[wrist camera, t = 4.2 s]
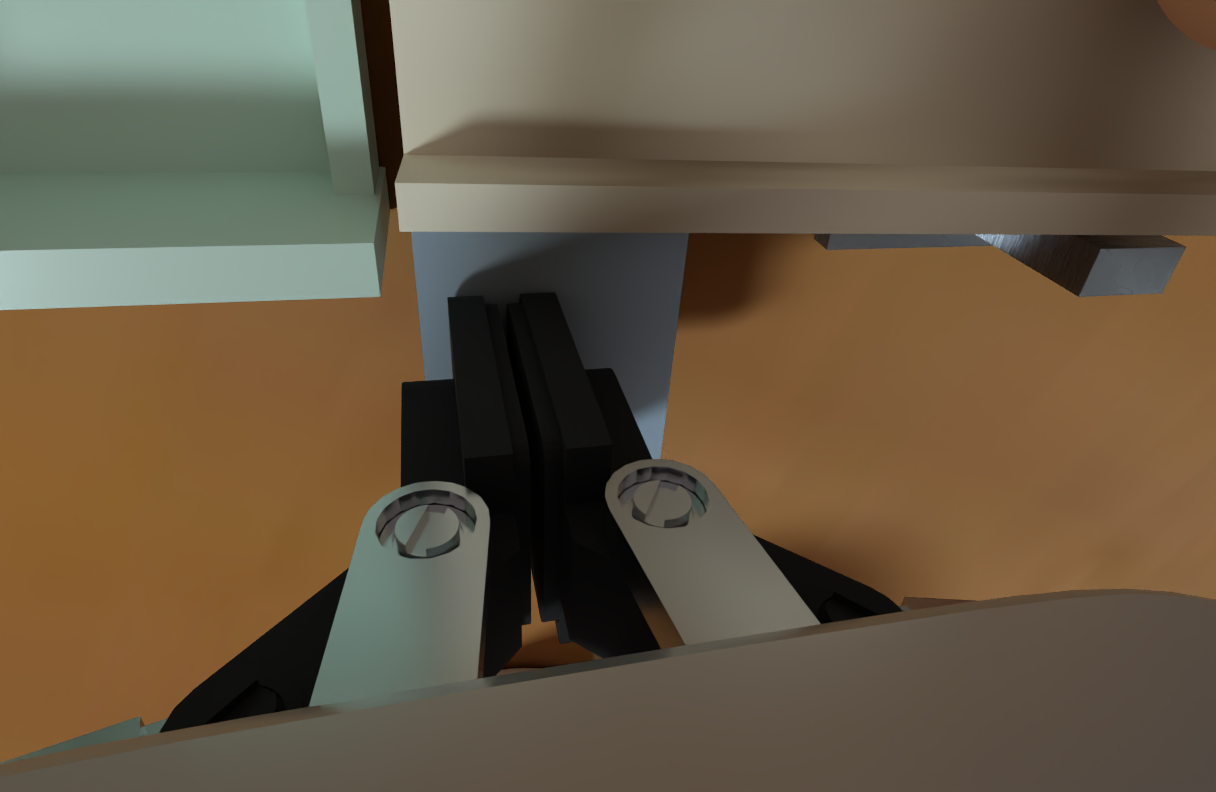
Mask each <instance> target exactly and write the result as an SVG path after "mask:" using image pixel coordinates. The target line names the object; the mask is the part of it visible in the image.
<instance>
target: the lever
mask: <svg viewBox="0 0 1216 792" xmlns="http://www.w3.org/2000/svg"><path fill="white" fill-rule="evenodd" d="M389 4H390V14H391V25H392V35H393V46H394V57H395V67H396V78H397V88H398V99H399V109H400V120H401V130H402V141H403V152H404V155H403V158H402V162H401V165H400V168H399V171H398V174H397V177H396V180H395V191H396V200H397V210H398V220H399V229H400V232H411V236H412V247H413V257H414V268H415V278H416V289H417V299H418V310H419V320H420V331H421V342H422V352H423V363H424V373H425V381H428V380H443V379H453V373H452V359H451V345H450V331H449V317H448V302H447V297H461V296H483V299H484V304H485V305H488V304H497V305H498V309H499V314H500V318H501V322H502V327H503V331H504V336H505V340H506V345H507V304H510V303H519V296H520V294H528V293H549V292H555V293H556V295H557V298H558V301H559V303H560V306H561V308H562V311H563V314H564V316H565V319H566V322H567V324H568V327H569V330H570V332H571V335H572V338H573V340H574V343H575V345H576V348H577V351H578V353H579V356H580V359H581V361H582V364H583V367H584V369H599V368H611V369H612V370H613V371H614V373H615V375H616V377H617V379H618V382H619V384H620V386H621V388H622V391H623V393H624V395H625V397H626V400H627V402H628V404H629V407H630V409H631V411H632V413H633V416H634V418H635V420H636V423H637V425H638V427H639V429H640V432H641V434H642V436H643V438H644V441H645V443H646V445H647V448H648V450H649V452H650V454H651V457H652V459H660V456H661V448H662V440H663V433H664V425H665V417H666V409H667V401H668V393H669V385H670V378H671V370H672V362H673V354H674V346H675V338H676V330H677V323H678V315H679V307H680V299H681V291H682V283H683V276H684V268H685V260H686V252H687V244H688V236H689V233H799V234H1005V235H1210V236H1216V51H1215V50H1213V49H1211V48H1208V47H1206V46H1204V45H1201V44H1199V43H1197V42H1196V41H1194V40H1192V39H1191V38H1189V37H1188V36H1186V35H1185V34H1184V33H1183V32H1181V31H1180V30H1179V29H1178V28H1177V27H1176V26H1175V25H1174V24H1173V23H1172V22H1171V21H1170V20H1169V19H1168V17H1167V16H1166V14H1165V13H1164V12H1163V10H1162V8H1161V7H1160V5H1159V4H1158V2H1157V0H389Z"/></svg>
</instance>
